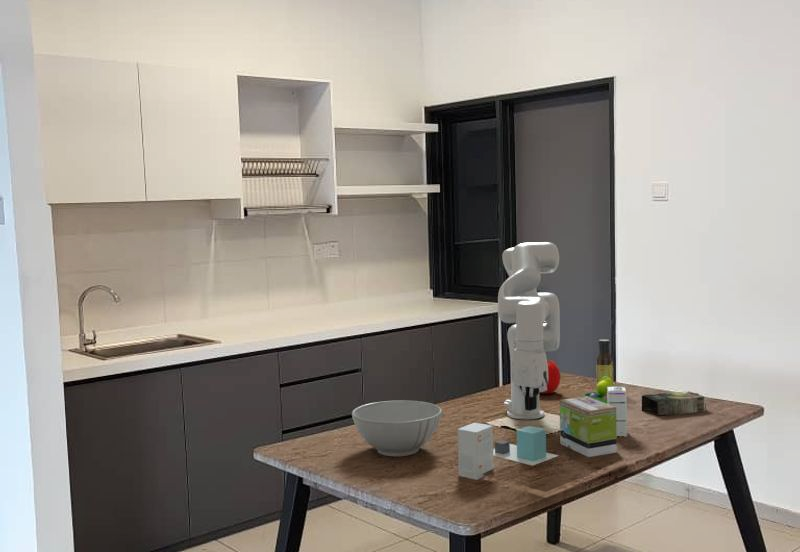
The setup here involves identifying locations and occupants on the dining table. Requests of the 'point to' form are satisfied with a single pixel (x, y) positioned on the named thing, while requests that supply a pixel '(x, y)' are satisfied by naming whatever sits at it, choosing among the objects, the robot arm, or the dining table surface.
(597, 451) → the tea box
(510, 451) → the board
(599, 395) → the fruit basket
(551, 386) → the tomato
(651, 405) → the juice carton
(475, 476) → the small box
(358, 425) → the decorative bowl
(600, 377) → the sauce bottle
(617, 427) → the syrup box
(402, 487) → the dining table surface
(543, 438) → the teal rectangular block
